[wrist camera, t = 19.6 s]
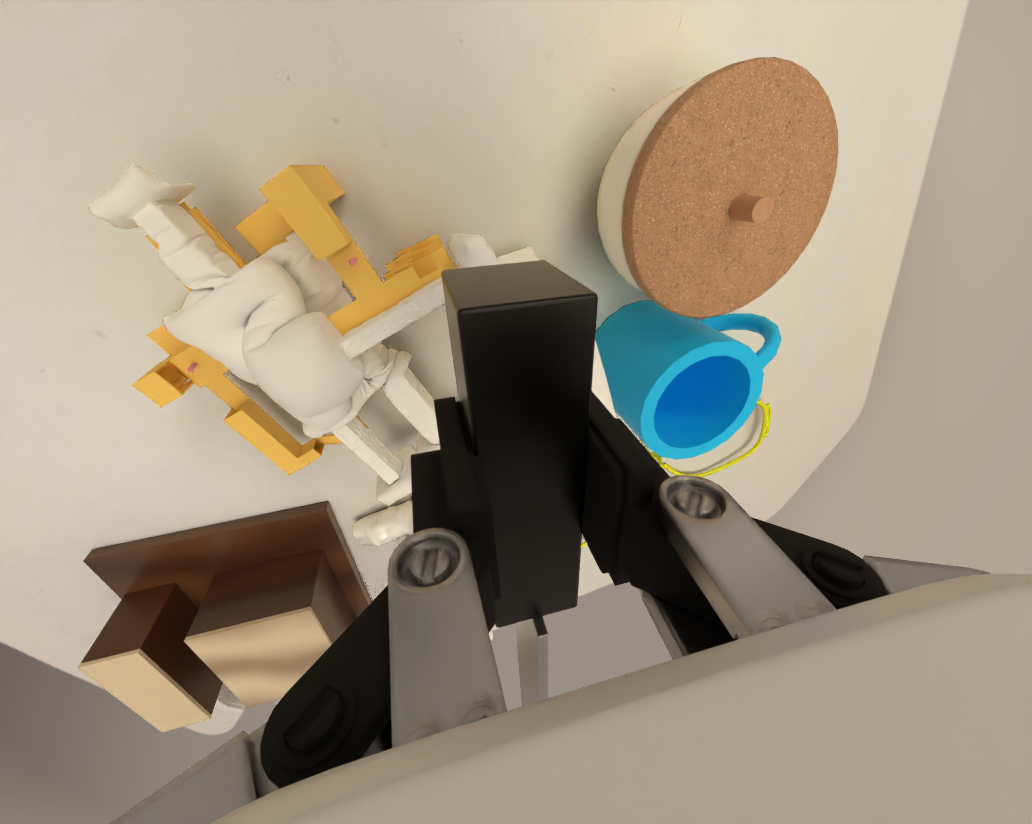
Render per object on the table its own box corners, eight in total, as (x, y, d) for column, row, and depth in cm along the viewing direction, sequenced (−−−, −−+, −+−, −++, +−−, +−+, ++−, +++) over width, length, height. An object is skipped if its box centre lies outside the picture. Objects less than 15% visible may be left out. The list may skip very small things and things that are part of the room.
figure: (447, 463, 32) (461, 557, 24) (169, 421, 25) (67, 533, 17) (526, 243, 25) (583, 278, 17) (167, 100, 18) (-10, 49, 10)
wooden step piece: (125, 594, 30) (76, 668, 25) (175, 582, 30) (137, 653, 26) (191, 661, 35) (161, 732, 31) (233, 650, 36) (210, 719, 31)
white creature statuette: (347, 521, 32) (324, 678, 22) (423, 457, 31) (434, 594, 21) (431, 565, 38) (442, 709, 28) (500, 512, 36) (537, 643, 26)
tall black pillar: (440, 269, 9) (460, 321, 6) (545, 259, 9) (613, 301, 6) (503, 721, 21) (519, 810, 18) (546, 707, 21) (569, 792, 18)
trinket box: (730, 61, 22) (906, 3, 14) (726, 253, 28) (849, 286, 20) (552, 123, 22) (637, 99, 14) (587, 306, 28) (659, 359, 20)
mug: (603, 415, 33) (655, 478, 26) (572, 332, 29) (625, 384, 22) (732, 348, 33) (819, 395, 26) (723, 254, 28) (824, 282, 21)
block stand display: (91, 549, 28) (21, 636, 23) (328, 500, 31) (313, 568, 26) (201, 662, 37) (167, 744, 32) (378, 616, 39) (375, 685, 34)
